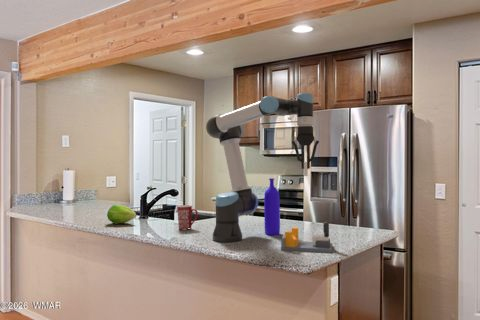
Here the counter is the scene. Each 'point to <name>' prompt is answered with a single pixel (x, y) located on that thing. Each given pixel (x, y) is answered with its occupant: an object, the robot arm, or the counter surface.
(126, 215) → the green papaya
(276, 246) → the counter surface
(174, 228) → the counter surface
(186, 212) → the mug
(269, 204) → the bottle
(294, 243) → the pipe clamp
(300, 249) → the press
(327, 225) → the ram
